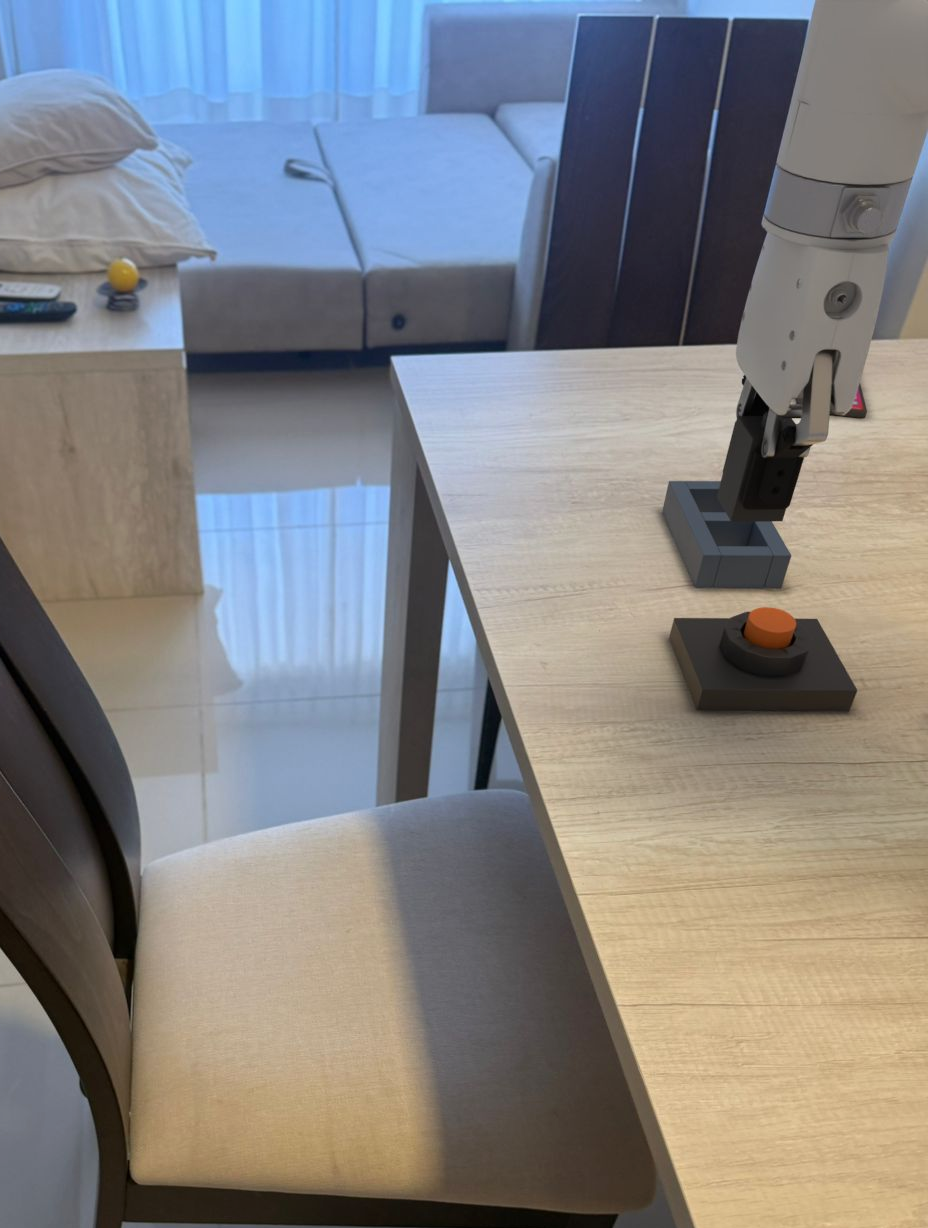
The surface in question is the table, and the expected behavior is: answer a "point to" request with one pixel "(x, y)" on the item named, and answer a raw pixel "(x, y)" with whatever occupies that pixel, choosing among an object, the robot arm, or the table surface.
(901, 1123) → the table surface
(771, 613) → the power button
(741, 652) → the switch block
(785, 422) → the block
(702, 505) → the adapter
